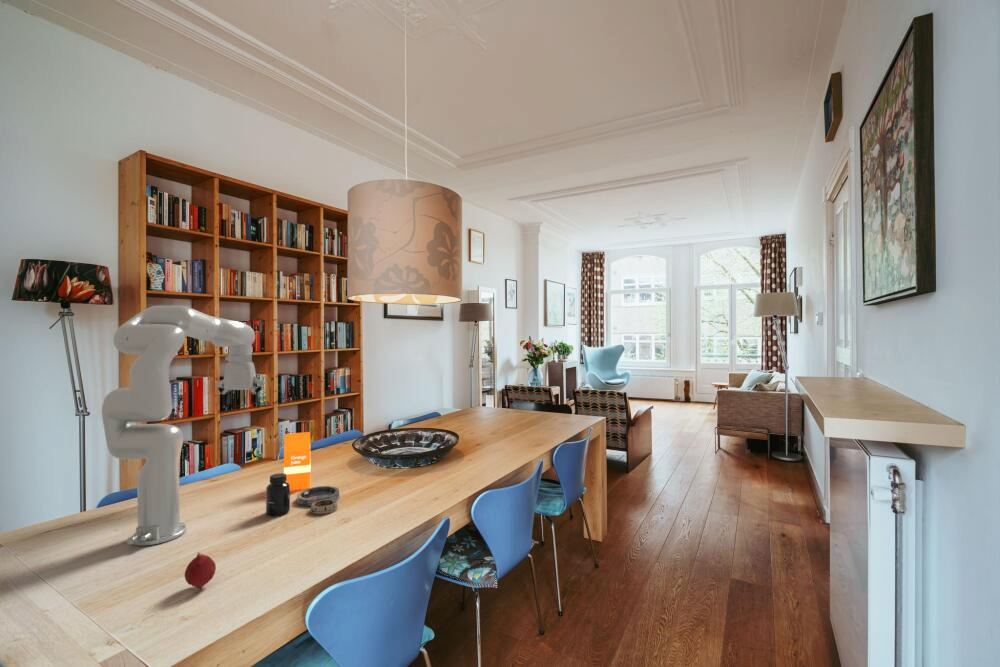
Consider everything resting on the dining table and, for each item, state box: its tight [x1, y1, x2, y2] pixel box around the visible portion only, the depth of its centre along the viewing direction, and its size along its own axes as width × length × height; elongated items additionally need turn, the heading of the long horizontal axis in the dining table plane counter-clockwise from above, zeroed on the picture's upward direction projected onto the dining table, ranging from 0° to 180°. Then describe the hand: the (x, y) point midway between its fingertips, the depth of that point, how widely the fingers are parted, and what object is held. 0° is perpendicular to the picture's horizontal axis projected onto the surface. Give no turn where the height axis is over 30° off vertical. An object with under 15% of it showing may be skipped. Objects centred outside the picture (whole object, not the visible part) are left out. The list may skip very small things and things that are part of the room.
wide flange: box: [296, 485, 340, 508], centre depth 155 cm, size 14×14×2 cm
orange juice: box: [283, 431, 312, 491], centre depth 168 cm, size 8×9×20 cm
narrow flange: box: [310, 499, 338, 516], centre depth 146 cm, size 8×8×2 cm
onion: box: [184, 551, 217, 589], centre depth 102 cm, size 6×6×8 cm
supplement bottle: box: [265, 472, 291, 517], centre depth 144 cm, size 7×7×12 cm
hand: (240, 404), depth 171 cm, fingers open, 9 cm apart
